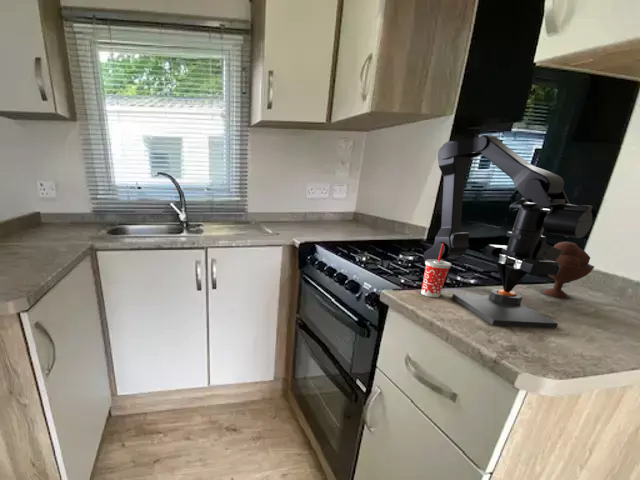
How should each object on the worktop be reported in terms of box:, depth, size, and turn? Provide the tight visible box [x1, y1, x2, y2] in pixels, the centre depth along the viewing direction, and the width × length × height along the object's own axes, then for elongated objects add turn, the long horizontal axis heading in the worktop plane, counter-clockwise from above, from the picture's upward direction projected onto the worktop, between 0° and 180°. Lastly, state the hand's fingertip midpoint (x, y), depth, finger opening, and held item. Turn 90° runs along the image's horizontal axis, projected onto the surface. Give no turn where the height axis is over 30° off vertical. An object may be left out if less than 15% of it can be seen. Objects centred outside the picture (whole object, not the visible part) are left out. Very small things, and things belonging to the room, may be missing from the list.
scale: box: [451, 288, 559, 329], centre depth 86 cm, size 17×15×3 cm
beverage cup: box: [420, 243, 452, 298], centre depth 94 cm, size 6×6×14 cm
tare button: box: [498, 288, 517, 296], centre depth 90 cm, size 4×4×2 cm
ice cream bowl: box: [542, 241, 595, 299], centre depth 98 cm, size 11×11×15 cm
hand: (506, 291), depth 90 cm, fingers closed, pressing on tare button
